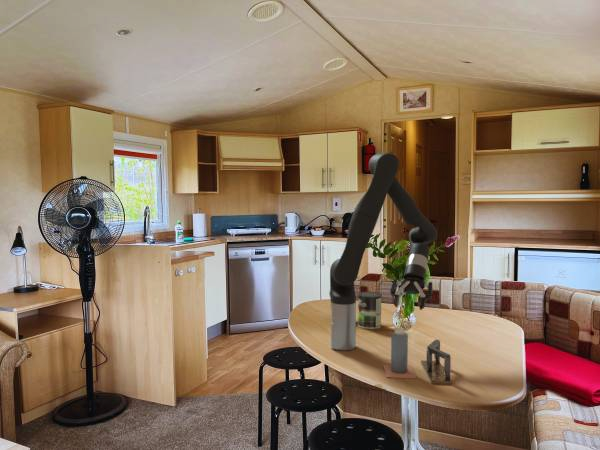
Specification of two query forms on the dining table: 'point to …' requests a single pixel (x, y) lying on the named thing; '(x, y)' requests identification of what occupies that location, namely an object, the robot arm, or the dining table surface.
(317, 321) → the dining table surface
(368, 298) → the coffee can
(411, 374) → the mat
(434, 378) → the dark grey frame
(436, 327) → the dining table surface
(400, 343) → the bottle
